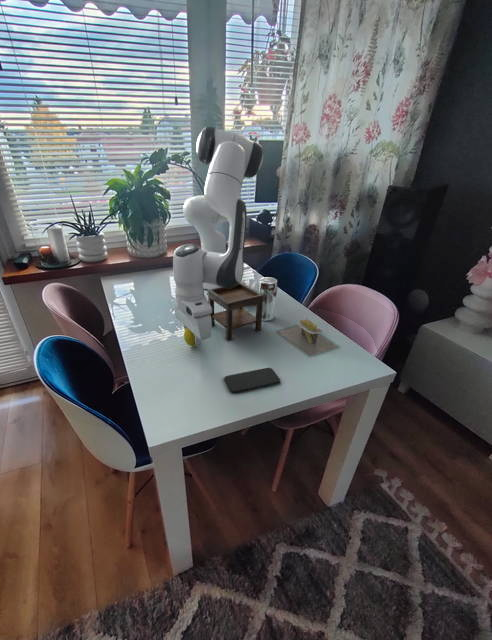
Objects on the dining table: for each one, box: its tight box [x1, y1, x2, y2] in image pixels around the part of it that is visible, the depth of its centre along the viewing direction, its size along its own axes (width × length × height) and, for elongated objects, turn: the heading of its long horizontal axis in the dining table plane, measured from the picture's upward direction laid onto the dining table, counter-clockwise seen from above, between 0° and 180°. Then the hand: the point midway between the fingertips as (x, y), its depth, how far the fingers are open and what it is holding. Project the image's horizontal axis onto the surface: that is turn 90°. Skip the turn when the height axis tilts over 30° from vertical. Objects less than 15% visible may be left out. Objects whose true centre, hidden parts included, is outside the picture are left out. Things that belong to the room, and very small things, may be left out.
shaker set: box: [240, 279, 259, 292], centre depth 134 cm, size 12×4×11 cm, turn 114°
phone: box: [223, 367, 281, 394], centre depth 93 cm, size 7×1×15 cm
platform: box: [277, 318, 338, 357], centre depth 111 cm, size 12×18×7 cm, turn 27°
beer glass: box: [258, 276, 278, 322], centre depth 123 cm, size 7×7×15 cm
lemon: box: [183, 328, 197, 348], centre depth 107 cm, size 6×6×8 cm
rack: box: [207, 283, 263, 342], centre depth 116 cm, size 14×14×14 cm
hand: (192, 339), depth 108 cm, fingers closed on lemon, 5 cm apart
